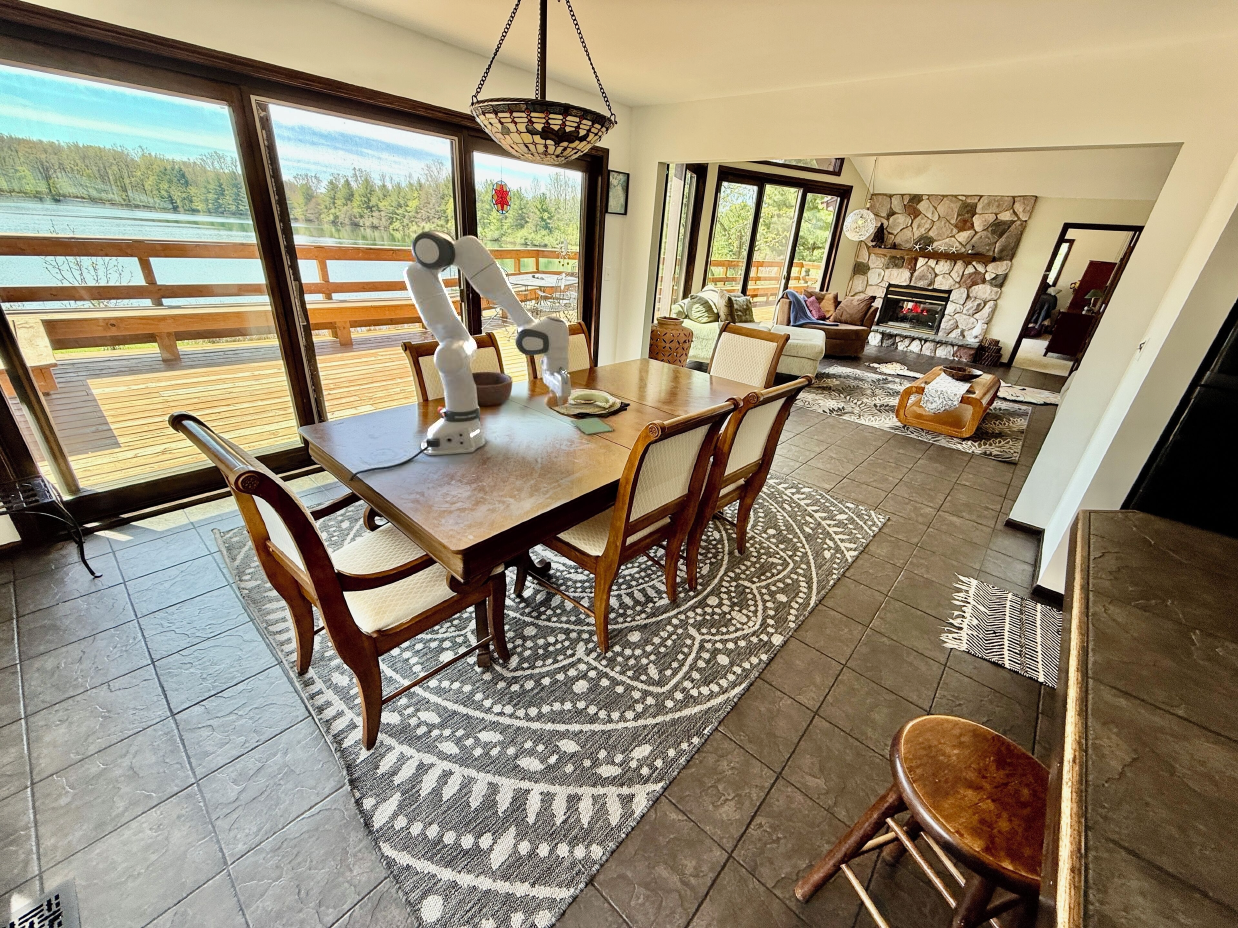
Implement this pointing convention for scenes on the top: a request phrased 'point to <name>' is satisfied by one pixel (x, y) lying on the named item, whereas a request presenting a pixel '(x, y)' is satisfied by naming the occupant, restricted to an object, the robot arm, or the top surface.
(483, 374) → the wooden bowl
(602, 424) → the cloth
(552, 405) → the roll
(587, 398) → the banana
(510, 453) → the top surface
